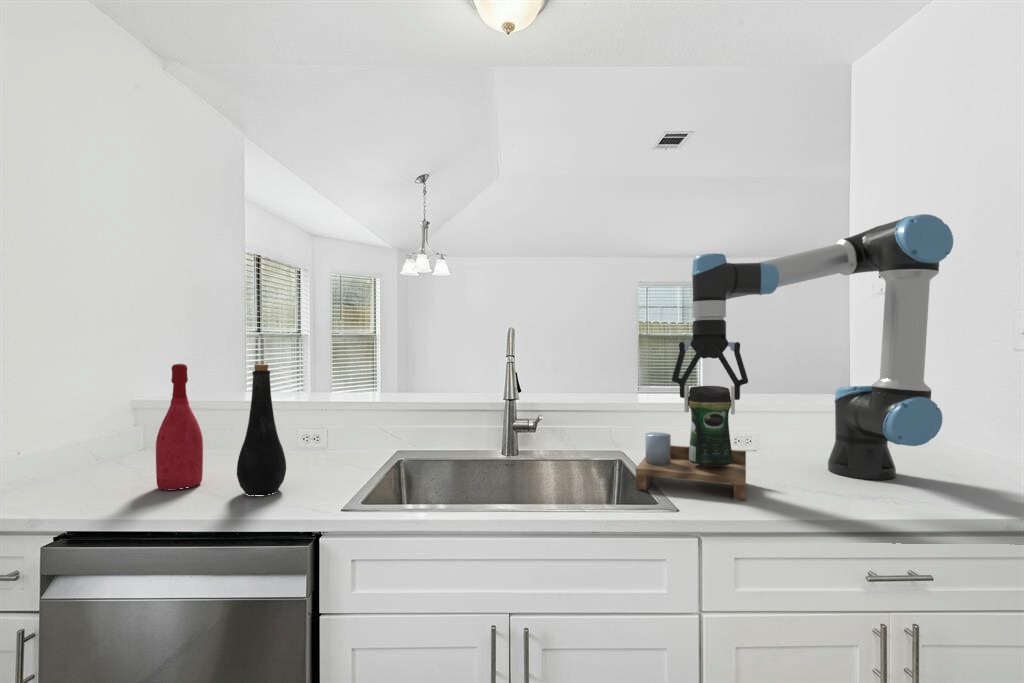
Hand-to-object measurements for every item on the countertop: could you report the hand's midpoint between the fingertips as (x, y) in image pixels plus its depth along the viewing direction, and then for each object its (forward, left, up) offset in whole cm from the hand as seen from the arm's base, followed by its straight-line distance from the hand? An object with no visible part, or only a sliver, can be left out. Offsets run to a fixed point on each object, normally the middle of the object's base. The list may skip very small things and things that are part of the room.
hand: (709, 412), depth 129 cm
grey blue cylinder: (+12, 0, -13) cm, 18 cm away
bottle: (+96, +45, -18) cm, 108 cm away
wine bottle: (+119, +49, -18) cm, 130 cm away
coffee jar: (0, 0, -12) cm, 12 cm away
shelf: (+4, 0, -18) cm, 19 cm away
